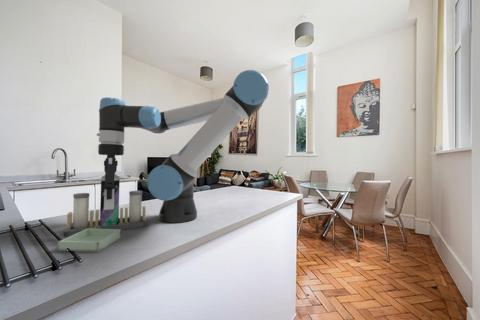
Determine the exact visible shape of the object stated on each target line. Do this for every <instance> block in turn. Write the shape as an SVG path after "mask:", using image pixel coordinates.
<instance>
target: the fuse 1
mask: <svg viewBox="0 0 480 320" xmlns="http://www.w3.org/2000/svg"><path fill="white" fill-rule="evenodd" d="M72 196H73V197H72V198H73V207H72V208H73V209H72V211H73V212H72V223H73V229H82V228H89V227H88V221H89V217H90V211H89V210H90V209H89V208H90V206H89V205H90V192H77V193H73V195H72Z"/></svg>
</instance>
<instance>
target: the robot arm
mask: <svg viewBox="0 0 480 320" xmlns="http://www.w3.org/2000/svg"><path fill="white" fill-rule="evenodd" d="M269 87H270V86H269V82H268V80H267V77H266V76H265V75H264V74H263V73H262V72H261V71H260V72H259V71H258V70H255V69H247V70H244V71H241V72H239V74H238V75H237V76H236V77H235V79H234V81H233V85H232V86H231V87H230V88H229V90H227V92H226V93H225V94H224V95H223V97H221V98H216V99H213V100H208V101H207V100H206V101H203V102H199V103H194V104H190V105H185V106H182V107H177V108H173V109H168V110H164V111H161V112H160V110H159V108H158V107H155V106H150V105H127V104H126V103H125V101H124V100H123V99H120V98H117V97H102V98H101V99H100V100H99V109H98V113H99V115H98V117H99V120H98V121H99V122H98V126H99V128H98V132H97V133H96V136H97V137H98V142H99V144H98V150H97V151H98V152H97V153H98V155H100V156H106V158H105V159H104V161H103V166H104V170H103V171H104V175H105V185H104V186H102V189H104V210H108V209H114V175H115V174H116V172H117V170H118V169H117V167H118V164H119V163H118V160H117V159H116V156H123V155H124V154H125V152H124V151H125V149H124V148H125V146H124V145H123V144H124V143H125V128H131V129H132V128H134V129H135V128H137V129H142V130H145V131H148V132H151V133H153V134H163V133H165V132H166V131H168V130H172V129H178V128H181V127H186V126H191V125H194V124H199V123H203V122H205V123H204V124H203V125H202V126H201V127H200V128H199V130H198V131H197V132H195V134H194V135H193V136H192V137H191V139H190V140H189V141H187V143H186V144H185V145H184V146H183V147H182V148H181V150H179V152H178V153H173V154H170V155H169V156H168V157H167V158H166V159H165V161H164V162H163V163H162V164H160V165H157V166H156V167H154V168H153V169H152V170H151V171H150V172H149V173H148V176H147V189H148V191H149V192H150V194H151V195H152V196H153V197H154V198H155V199H157V200H160V201H163V202H162V204H161V207H160V210H159V213H158V219H159V221H160V222H161V221H162V222H165V223H176V224H177V223H178V224H179V223H186V222H191V221H194V220H196V219H197V218H198V209H197V206H196V203H195V200H194V192H195V191H194V188H195V186H194V185H195V179H196V178H197V176H198V174H197V173H198V172H197V170H198V169H199V168H200V167H201V166H202V164H203V163H204V162H205V161H206V160H207V159H208V158H209V157H210V156H211V155H212V154H213V152H215V150H216V149H217V148H218V146H219V145H221V143H222V142H223V141H224V140H225V139H226V138H227V137H228V136H229V134H230V133H231V132H232V131H234V129H235V128H236V126H238V124H239V123H240V122H241V121H242V120H243V121H244V120H249V119H250V118H251V117H252V115H253V114H255V113H256V112H258V111H259V110H260V109H261V108H262V106H263V105H264V102H265V101H266V100H267V98H268V95H269V91H270V90H269V89H270V88H269Z"/></svg>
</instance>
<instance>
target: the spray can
mask: <svg viewBox="0 0 480 320" xmlns="http://www.w3.org/2000/svg"><path fill="white" fill-rule="evenodd" d="M104 185H105V174H104V175H102V176H101V178H100V209H99V220H100V225H99V226H108V225H117V224H119V223H118V220H119V218H120V176H119V175H118V174H116V173H115V175H114V209H108V210H104V189H102V186H104Z"/></svg>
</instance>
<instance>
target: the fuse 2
mask: <svg viewBox="0 0 480 320" xmlns="http://www.w3.org/2000/svg"><path fill="white" fill-rule="evenodd" d="M128 195H129V203H128V205H129V206H128V208H129V209H128V217H129V222H128V223H135V222H141V216H142V201H143V200H142V199H143V198H142V197H143V196H142V195H143V191H142V190H130V191H129V192H128Z"/></svg>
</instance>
